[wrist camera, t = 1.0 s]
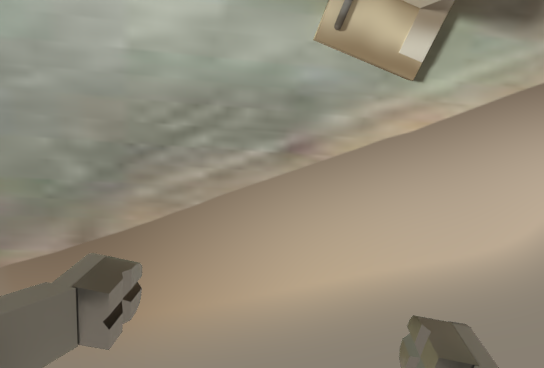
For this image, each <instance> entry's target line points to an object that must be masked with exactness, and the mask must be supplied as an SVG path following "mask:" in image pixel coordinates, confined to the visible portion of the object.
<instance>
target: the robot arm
mask: <svg viewBox="0 0 544 368" xmlns="http://www.w3.org/2000/svg"><path fill="white" fill-rule="evenodd" d="M141 276H142V265H141V264H140V263H138V262H133V261H129V260H124V259H119V258H115V257H110V256H105V255H100V254H94V253H91V254H88V255H86V256H85V257H84V258H83V259H81V260H80V261H79V262H77V263H76V264H75V265H74V266H72V268H70V269H69V270H67V271H66V272H65V273H64V274H62V275H61V276H60V277H59V278H57V279H56V280H55V281H54V282H53V283H47V282H45V283H42V284H39V285H35V286H32V287H29V288H26V289H23V290H19V291H16V292H13V293H10V294H6V295H4V296H0V368H43V367H44V366H46V365H48V364H49V363H51V362H53V361H54V360H56V359H58V358H59V357H61V356H63V355H64V354H66V353H68V352H69V351H71V350H73V349H74V348H76V347H77V346H78V345H83V346H88V347H95V348H100V349H106V350H109V349H110V348H111V346H112V345H113V344H114V342H115V341H116V339H117V338H118V337H119V335H120V334H121V333H122V324H124V323H126V322H128V321H130V320H131V319H132V317H133V316H134V314H135V313H136V310H137V308H138V306H139V303H140V299H141V290H142V288H141V287H140V285H139V284H138V282H137V281H138V280H139V279H140V278H141ZM407 327H408V329H409V332H410V334H409V335H407V336H406V337H404V338H403V340H402V343H401V346H400V353H399V360H400V366H401V368H499V367H498V366H497V364H496V363H495V361H494V360H493V359H492V357H491V356H490V354H489V353H488V351H487V350H486V349H485V347H484V346H483V345H482V343H481V341H480V340H479V339H478V337H477V336H476V334H475V333H474V332H473V330H472V329H471V327H469V326H468V325H466V324H463V323H456V322H450V321H448V322H447V321H441V320H435V319H430V318H425V317H419V316H412V317H411V319H410V320H409V323H408V325H407Z"/></svg>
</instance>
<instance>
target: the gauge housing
mask: <svg viewBox="0 0 544 368" xmlns="http://www.w3.org/2000/svg"><path fill="white" fill-rule="evenodd" d="M403 1H405V2H407V3H409V4H412V5H414V6H416V7H418V8H422V7H425V6H427V5H430V4H432V3H435V2H437V1H440V0H403Z"/></svg>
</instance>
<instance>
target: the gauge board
mask: <svg viewBox="0 0 544 368" xmlns="http://www.w3.org/2000/svg"><path fill="white" fill-rule="evenodd" d="M454 1H455V0H440V1H437V2H435V3H432V4H430V5H427V6H425V7H422V8H418V7H416V6H414V5H412V4H409V3H407V2H405V1H403V0H329V1H328V4H327V6H326V9H325V11H324V14H323V16H322V19H321V21H320V24H319V27H318V29H317V32H316V34H315V37H314V39H313V40H314V41H317V42H319V43H322V44H324V45H326V46H329V47H331V48H333V49H336V50H338V51H341V52H343V53H345V54H348V55H350V56H352V57H355V58H357V59H360V60H362V61H364V62H367V63H369V64H371V65H374V66H376V67H379V68H381V69H383V70H386V71H388V72H390V73H393V74H395V75H398V76H400V77H402V78H405V79H407V80H412V81H413V80H414V78H415V76H416V74H417V72H418V70H419V68H420V66H421V64H422V63H423V61H424V59H425V57H426V55H427V53H428V51H429V49H430V47H431V45H432V43H433V41H434V39H435V37H436V36H437V34H438V32H439V30H440V28H441V26H442V24H443V22H444V20H445V18H446V16H447V14H448V12H449V10H450V9H451V7H452V5H453V3H454Z"/></svg>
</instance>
